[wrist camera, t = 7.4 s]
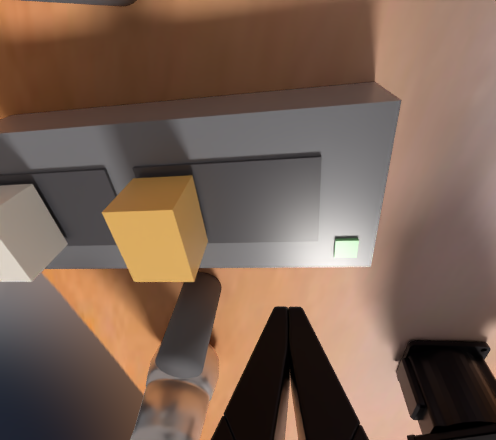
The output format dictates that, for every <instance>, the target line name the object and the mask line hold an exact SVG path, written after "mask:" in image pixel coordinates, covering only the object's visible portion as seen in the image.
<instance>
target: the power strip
mask: <svg viewBox="0 0 496 440" xmlns="http://www.w3.org/2000/svg"><path fill="white" fill-rule="evenodd" d="M400 104H401V100H400V99H399V98H397V97H396V96H394V95H393V94H392V93H390V92H389V91H388V90H386V89H385V88H383V87H382V86H381V85H379V84H378V83H376V82H365V83H354V84H343V85H333V86H322V87H311V88H300V89H289V90H279V91H268V92H257V93H246V94H235V95H224V96H214V97H203V98H192V99H181V100H170V101H159V102H149V103H138V104H127V105H116V106H105V107H95V108H84V109H73V110H62V111H51V112H40V113H30V114H19V115H11V116H8V117H6V118H3V119H0V186H1V185H20V184H33V185H34V187H35V189H36V191H37V192H38V194H39V196H40V197H41V199H42V201H43V202H44V204H45V206H46V208H47V209H48V211H49V213H50V214H51V216H52V218H53V219H54V221H55V223H56V225H57V226H58V228H59V230H60V231H61V233H62V235H63V236H64V238H65V240H66V242H67V243H68V244H67V245H66V247H65V248H64V249H63V250H62V251H61V252H60V253H59V254H58V255H57V256H56V257H55V258H54V259H53V260H52V261H51V262H50V263H49V265H48V266H47V267H46V268H45V269H111V268H127V266H126V263H125V261H124V259H123V257H122V255H121V253H120V251H119V248H118V246H117V244H116V242H115V240H114V238H113V236H112V233H111V231H110V229H109V227H108V225H107V223H106V221H105V218H104V216H103V214H102V212H103V210H104V209H105V208H106V207H107V206H108V205H109V204H110V203H111V202H112V201H113V200H114V199H115V198H116V196H117V195H118V194H119V193H120V192H121V191H122V190H123V189H124V188H125V187H126V186H127V185H128V183H129V182H130V181H131V180H132V179H133V178H151V177H170V176H189V175H192V176H193V180H194V184H195V188H196V193H197V197H198V201H199V205H200V210H201V214H202V218H203V222H204V227H205V231H206V235H207V239H208V243H207V246H206V248H205V251H204V254H203V257H202V260H201V263H200V266H199V268H275V267H371V263H372V258H373V252H374V247H375V241H376V236H377V230H378V225H379V219H380V214H381V208H382V203H383V198H384V192H385V187H386V181H387V176H388V170H389V165H390V159H391V154H392V148H393V143H394V137H395V132H396V126H397V121H398V115H399V110H400Z"/></svg>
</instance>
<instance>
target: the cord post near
mask: <svg viewBox="0 0 496 440" xmlns="http://www.w3.org/2000/svg"><path fill="white" fill-rule="evenodd" d="M23 1H40V2H57V3H74V4H91V5H108V6H127V5H130V4H132V3H134V2H135V1H137V0H23Z"/></svg>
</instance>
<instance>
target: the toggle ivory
mask: <svg viewBox="0 0 496 440" xmlns="http://www.w3.org/2000/svg"><path fill="white" fill-rule="evenodd" d="M67 244H68V243H67V242H66V240H65V238H64V236H63V235H62V233H61V231H60V230H59V228H58V226H57V225H56V223H55V221H54V219H53V218H52V216H51V214H50V213H49V211H48V209H47V208H46V206H45V204H44V202H43V201H42V199H41V197H40V196H39V194H38V192H37V191H36V189H35V187H34V185H33V184H20V185H1V186H0V282H32V281H33V280H34V279H35V278H36V277H37V276H38V275H39V274H40V273H41V272H42V271H43V270H44V269H45V268H46V267H47V266H48V265H49V263H50V262H51V261H52V260H53V259H54V258H55V257H56V256H57V255H58V254H59V253H60V252H61V251H62V250H63V249H64V248H65V247H66V245H67Z"/></svg>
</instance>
